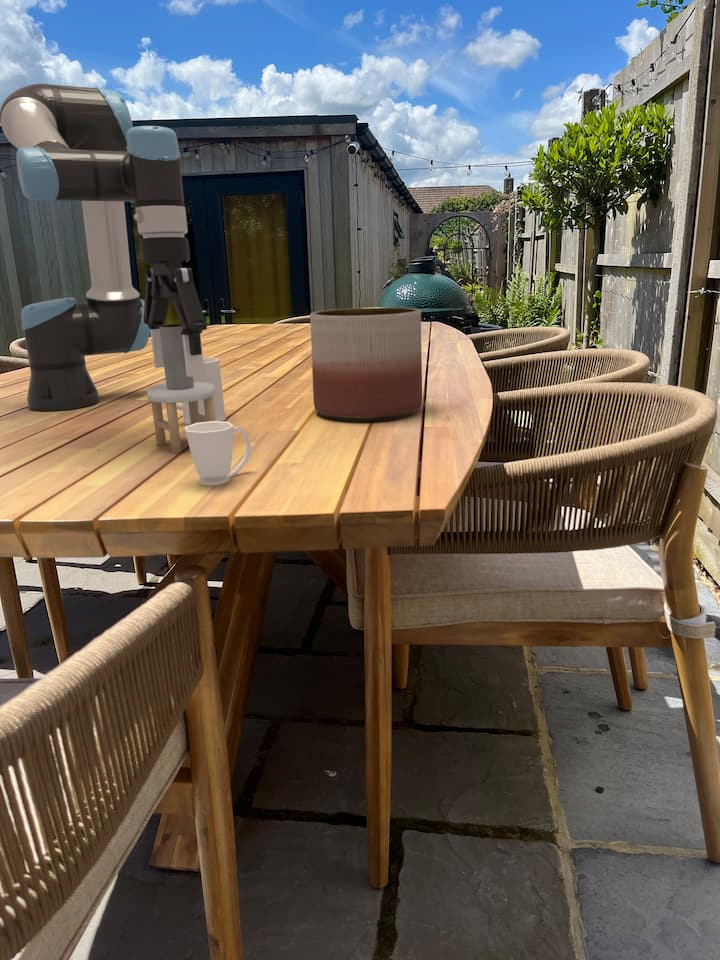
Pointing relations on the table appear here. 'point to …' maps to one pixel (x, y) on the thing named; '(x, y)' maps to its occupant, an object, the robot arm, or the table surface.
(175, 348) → the grey tube
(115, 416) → the table surface
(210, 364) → the white ceramic jug
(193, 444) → the cup
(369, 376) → the planter
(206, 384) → the stool
